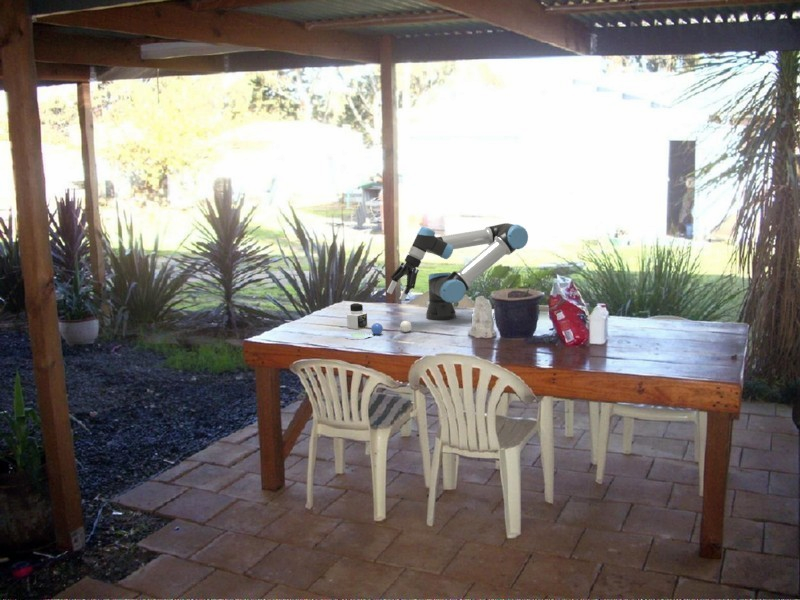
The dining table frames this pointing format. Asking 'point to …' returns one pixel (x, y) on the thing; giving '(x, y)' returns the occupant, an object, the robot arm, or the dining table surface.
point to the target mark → (360, 335)
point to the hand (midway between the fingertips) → (395, 296)
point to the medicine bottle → (356, 317)
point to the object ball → (376, 328)
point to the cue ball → (405, 326)
